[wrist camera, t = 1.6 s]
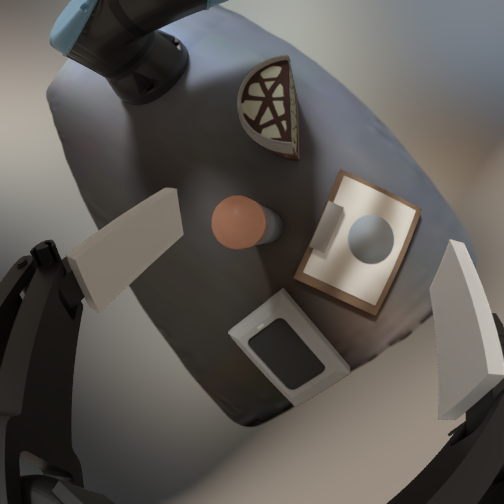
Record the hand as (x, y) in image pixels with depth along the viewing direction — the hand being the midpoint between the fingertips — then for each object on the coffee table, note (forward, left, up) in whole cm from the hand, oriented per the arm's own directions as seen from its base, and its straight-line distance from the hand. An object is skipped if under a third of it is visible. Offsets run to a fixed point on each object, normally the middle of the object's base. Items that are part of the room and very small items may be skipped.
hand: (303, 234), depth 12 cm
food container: (-10, +11, -23) cm, 28 cm away
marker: (-6, -2, -23) cm, 24 cm away
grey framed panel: (+4, -15, -24) cm, 29 cm away
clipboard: (+6, +1, -23) cm, 24 cm away
